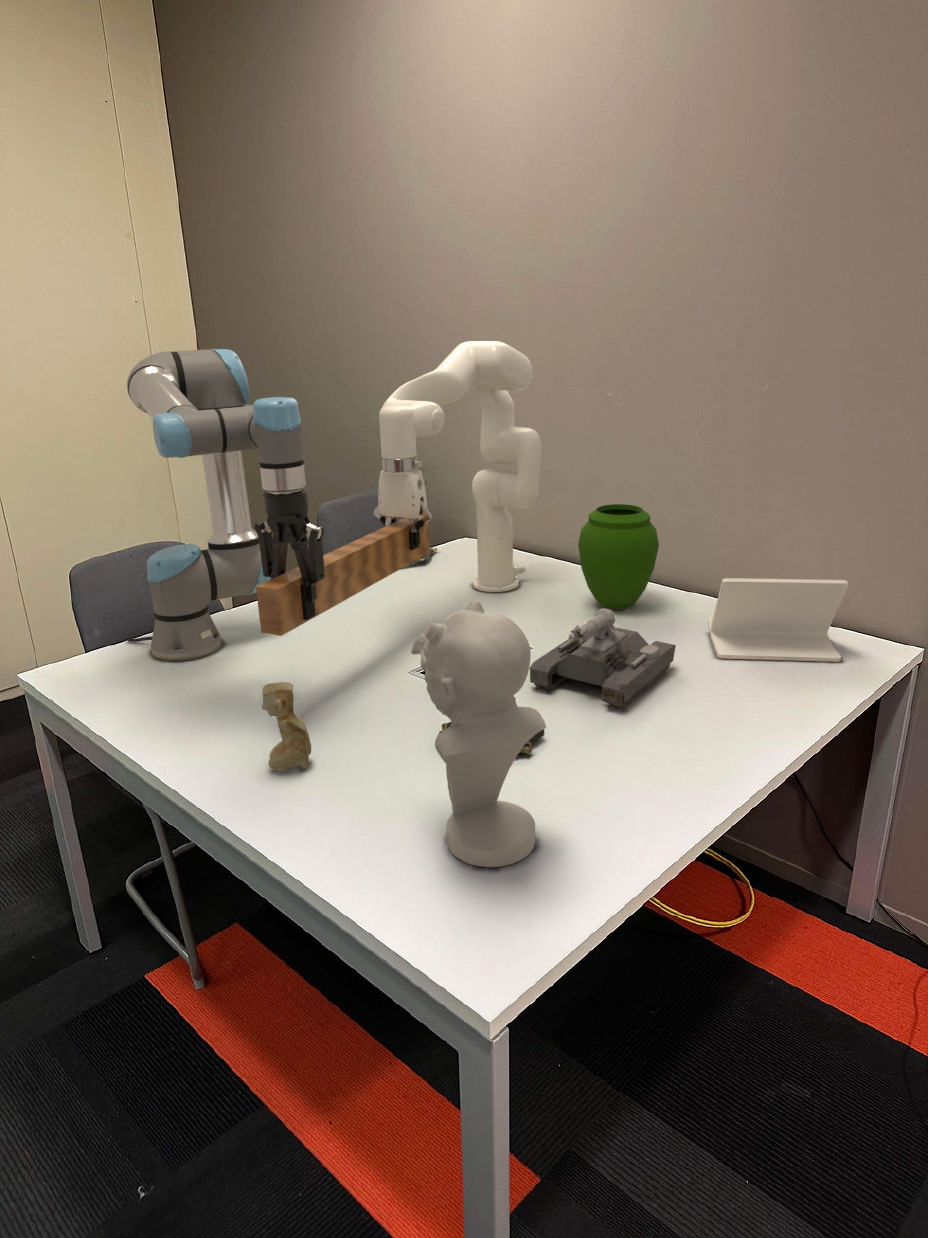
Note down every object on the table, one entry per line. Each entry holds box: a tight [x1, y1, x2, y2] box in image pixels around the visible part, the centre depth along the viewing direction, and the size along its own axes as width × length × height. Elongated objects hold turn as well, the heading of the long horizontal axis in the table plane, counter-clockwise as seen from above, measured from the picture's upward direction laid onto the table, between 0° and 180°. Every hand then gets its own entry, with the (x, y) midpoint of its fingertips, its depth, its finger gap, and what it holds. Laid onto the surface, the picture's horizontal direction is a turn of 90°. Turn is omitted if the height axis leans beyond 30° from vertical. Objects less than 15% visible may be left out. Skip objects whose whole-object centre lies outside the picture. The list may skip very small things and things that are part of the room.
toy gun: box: [410, 546, 438, 565], centre depth 255 cm, size 3×19×10 cm
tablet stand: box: [707, 577, 849, 663], centre depth 185 cm, size 18×25×17 cm
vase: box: [577, 503, 660, 610], centre depth 210 cm, size 20×20×24 cm
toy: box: [529, 607, 677, 708], centre depth 171 cm, size 25×20×15 cm
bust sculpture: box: [410, 599, 547, 868], centre depth 121 cm, size 16×24×35 cm
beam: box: [255, 515, 431, 637], centre depth 172 cm, size 56×4×9 cm, turn 155°
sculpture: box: [261, 681, 312, 771], centre depth 142 cm, size 6×7×15 cm
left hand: (298, 615), depth 156 cm, fingers closed on beam, 4 cm apart
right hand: (404, 546), depth 189 cm, fingers closed on beam, 4 cm apart
